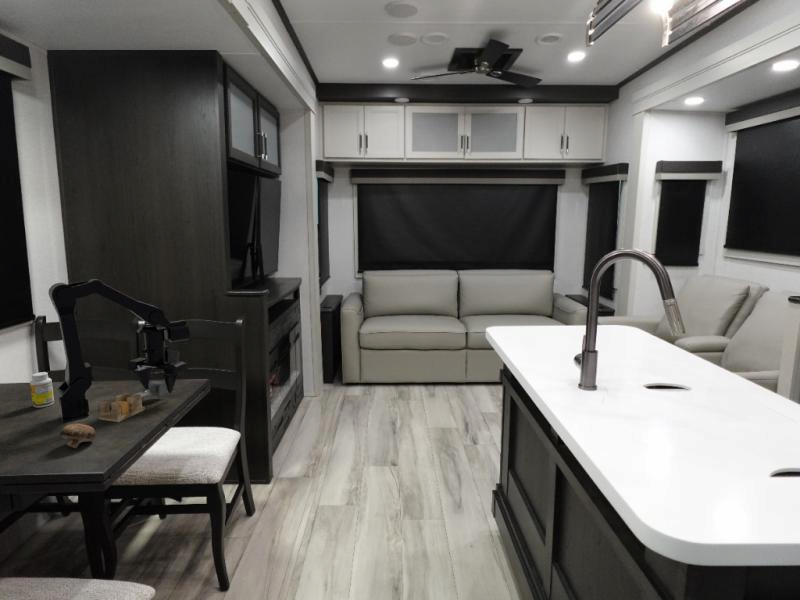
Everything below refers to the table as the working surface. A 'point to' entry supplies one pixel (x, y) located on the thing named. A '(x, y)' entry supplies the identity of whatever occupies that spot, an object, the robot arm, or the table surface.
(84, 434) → the mushroom
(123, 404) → the block
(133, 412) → the bearing block
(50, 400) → the supplement bottle
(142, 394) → the shaft
